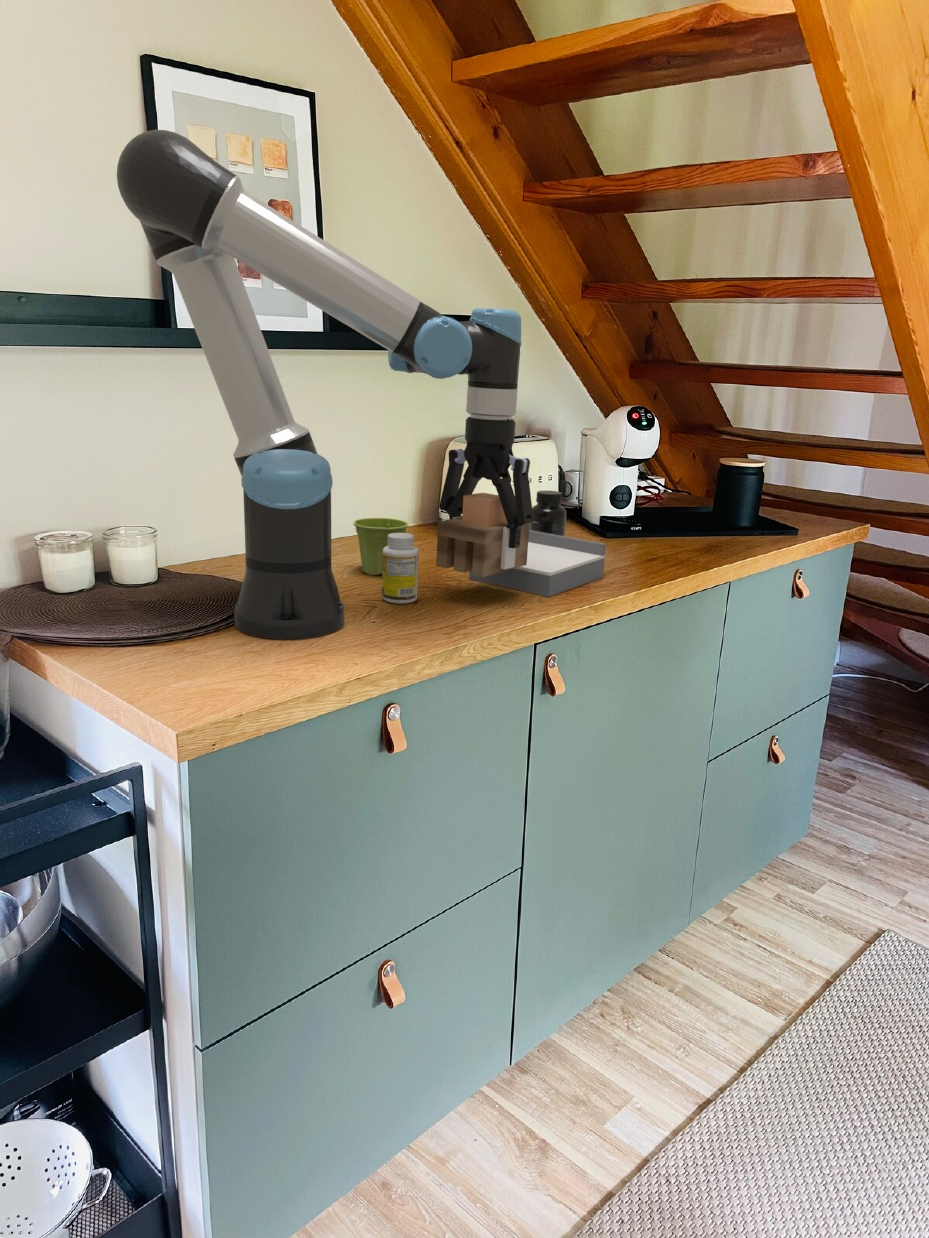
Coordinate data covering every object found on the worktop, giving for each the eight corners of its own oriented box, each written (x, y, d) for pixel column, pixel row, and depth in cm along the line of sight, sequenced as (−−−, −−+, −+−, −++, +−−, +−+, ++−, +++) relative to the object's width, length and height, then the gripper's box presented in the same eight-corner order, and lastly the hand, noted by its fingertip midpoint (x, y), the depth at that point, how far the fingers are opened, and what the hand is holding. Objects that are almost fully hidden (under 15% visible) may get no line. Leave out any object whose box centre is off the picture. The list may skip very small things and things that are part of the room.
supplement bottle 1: (392, 593, 146) (393, 530, 143) (423, 598, 144) (425, 534, 141) (375, 601, 141) (375, 536, 138) (407, 606, 139) (408, 540, 136)
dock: (548, 597, 147) (551, 560, 145) (469, 579, 156) (470, 544, 154) (603, 577, 161) (605, 543, 159) (527, 561, 170) (529, 530, 168)
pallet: (482, 577, 137) (485, 531, 135) (436, 566, 142) (438, 521, 140) (526, 564, 147) (529, 521, 145) (481, 554, 152) (483, 513, 150)
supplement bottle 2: (521, 551, 178) (524, 490, 174) (550, 549, 181) (554, 488, 177) (540, 559, 172) (544, 496, 169) (570, 556, 175) (574, 494, 172)
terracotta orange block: (488, 526, 139) (489, 500, 138) (462, 521, 142) (463, 495, 141) (506, 522, 143) (508, 497, 142) (481, 517, 146) (482, 492, 145)
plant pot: (374, 562, 165) (374, 515, 162) (418, 570, 160) (419, 522, 158) (342, 572, 157) (341, 522, 154) (386, 581, 152) (387, 530, 150)
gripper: (565, 422, 135) (553, 571, 141) (449, 410, 147) (443, 547, 153) (538, 424, 129) (526, 579, 135) (419, 411, 141) (414, 553, 148)
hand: (482, 562), depth 144 cm, fingers closed on pallet, 9 cm apart
